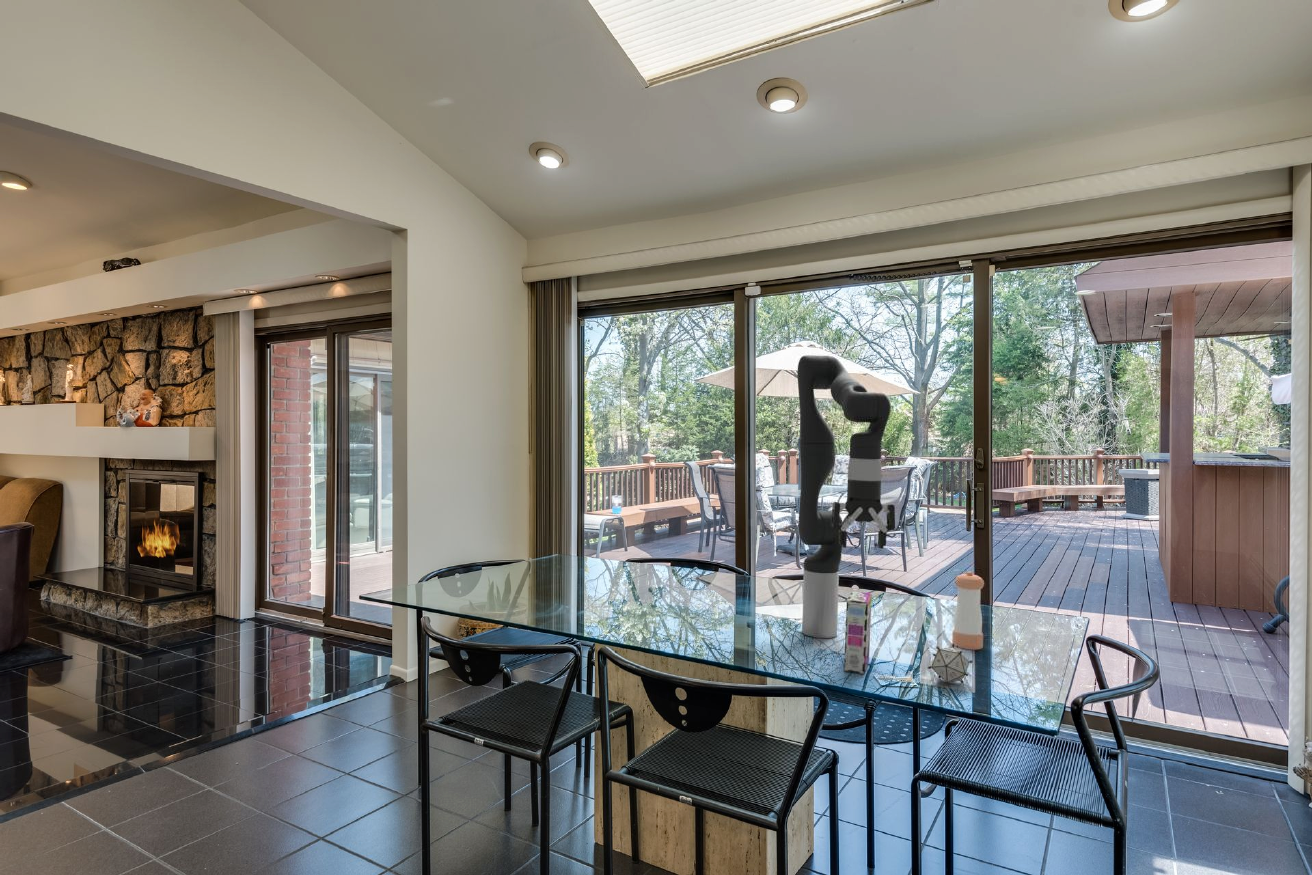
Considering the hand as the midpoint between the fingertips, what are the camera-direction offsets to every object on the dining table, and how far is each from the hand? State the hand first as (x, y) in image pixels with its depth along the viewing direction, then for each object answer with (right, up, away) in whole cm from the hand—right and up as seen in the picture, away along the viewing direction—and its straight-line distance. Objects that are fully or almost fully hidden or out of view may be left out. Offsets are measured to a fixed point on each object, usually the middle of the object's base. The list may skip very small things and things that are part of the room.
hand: (862, 547), depth 168 cm
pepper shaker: (+33, -29, +19) cm, 47 cm away
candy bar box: (-1, -28, 0) cm, 28 cm away
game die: (+17, -29, -9) cm, 34 cm away
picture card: (+5, -28, -10) cm, 30 cm away
